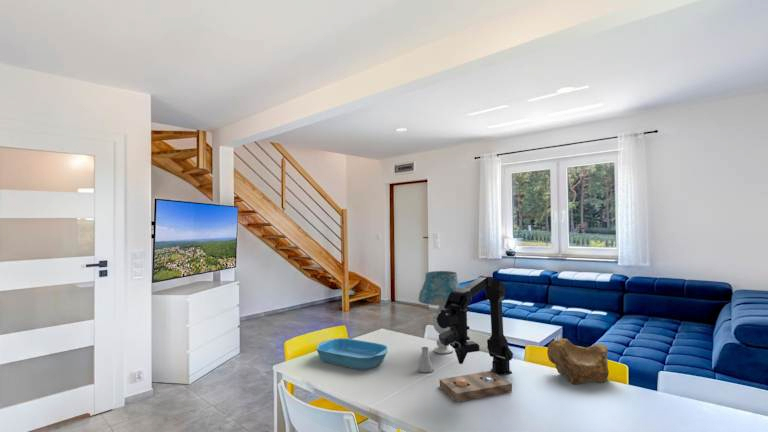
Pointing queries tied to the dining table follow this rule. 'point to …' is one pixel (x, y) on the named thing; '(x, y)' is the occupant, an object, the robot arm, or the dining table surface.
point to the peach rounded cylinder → (461, 382)
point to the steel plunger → (487, 378)
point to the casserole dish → (352, 353)
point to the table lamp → (439, 298)
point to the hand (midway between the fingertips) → (460, 363)
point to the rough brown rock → (579, 361)
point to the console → (475, 386)
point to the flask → (425, 362)
